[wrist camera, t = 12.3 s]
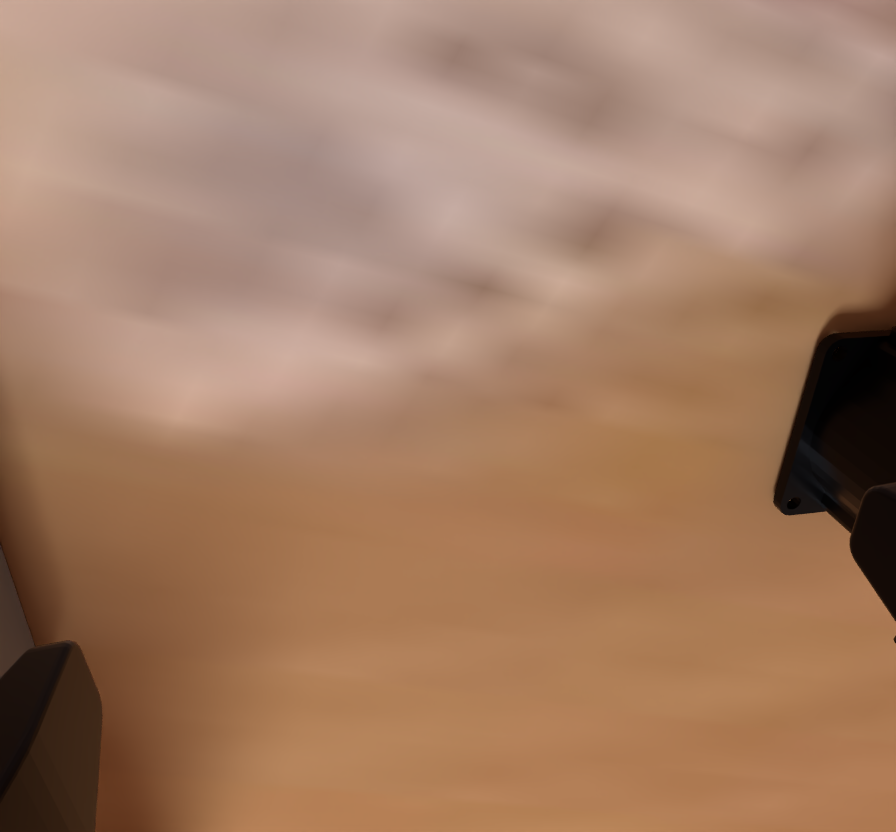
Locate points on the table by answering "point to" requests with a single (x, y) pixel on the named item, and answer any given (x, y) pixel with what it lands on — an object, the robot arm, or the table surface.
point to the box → (11, 621)
